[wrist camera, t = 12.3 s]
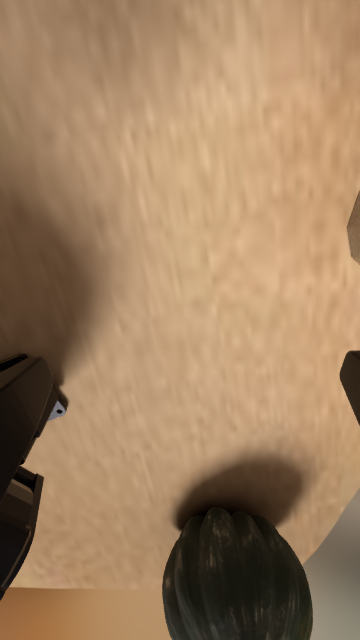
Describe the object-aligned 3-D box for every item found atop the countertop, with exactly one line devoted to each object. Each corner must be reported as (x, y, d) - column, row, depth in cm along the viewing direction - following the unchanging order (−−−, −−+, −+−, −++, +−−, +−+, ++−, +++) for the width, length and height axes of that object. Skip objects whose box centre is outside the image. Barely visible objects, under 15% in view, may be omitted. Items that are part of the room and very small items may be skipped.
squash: (267, 619, 32) (367, 787, 18) (150, 620, 31) (162, 807, 17) (265, 491, 37) (345, 546, 23) (164, 485, 35) (182, 541, 21)
